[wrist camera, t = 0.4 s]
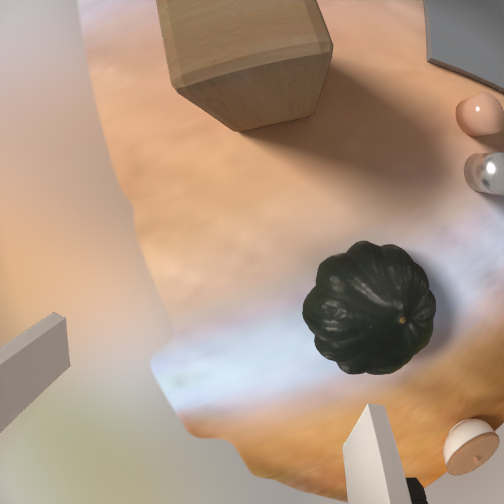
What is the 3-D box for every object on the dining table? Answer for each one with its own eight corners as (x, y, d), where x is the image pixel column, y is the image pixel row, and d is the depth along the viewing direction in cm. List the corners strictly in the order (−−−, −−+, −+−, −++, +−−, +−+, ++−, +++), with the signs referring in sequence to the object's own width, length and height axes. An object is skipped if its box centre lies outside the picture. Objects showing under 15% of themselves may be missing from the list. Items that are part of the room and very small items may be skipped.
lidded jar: (425, 444, 43) (438, 480, 34) (464, 403, 40) (484, 438, 31) (457, 451, 43) (470, 483, 34) (493, 414, 40) (512, 444, 31)
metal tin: (466, 149, 31) (490, 147, 26) (493, 159, 31) (519, 159, 25) (462, 186, 33) (486, 189, 27) (489, 195, 32) (514, 199, 26)
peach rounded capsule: (456, 95, 30) (474, 87, 25) (485, 106, 29) (504, 100, 25) (454, 130, 31) (474, 126, 26) (483, 141, 31) (504, 138, 26)
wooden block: (215, 62, 33) (148, -22, 14) (295, 43, 32) (291, -60, 12) (233, 135, 35) (168, 95, 16) (316, 116, 34) (340, 53, 14)
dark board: (419, -33, 25) (421, -38, 23) (512, 11, 23) (517, 8, 22) (426, 61, 29) (431, 57, 28) (525, 104, 28) (531, 103, 26)
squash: (335, 395, 36) (430, 407, 22) (257, 312, 35) (341, 291, 21) (388, 316, 42) (475, 299, 29) (326, 237, 41) (409, 192, 28)
